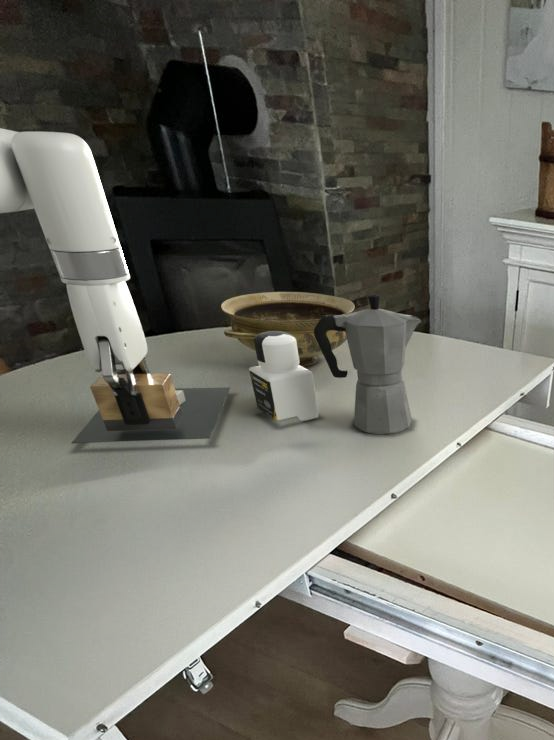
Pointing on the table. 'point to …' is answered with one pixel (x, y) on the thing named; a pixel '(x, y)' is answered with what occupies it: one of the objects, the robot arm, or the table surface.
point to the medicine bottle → (282, 378)
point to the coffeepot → (373, 364)
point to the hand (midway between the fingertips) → (143, 414)
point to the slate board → (193, 425)
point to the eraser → (156, 399)
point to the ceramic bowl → (286, 318)
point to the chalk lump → (180, 396)
